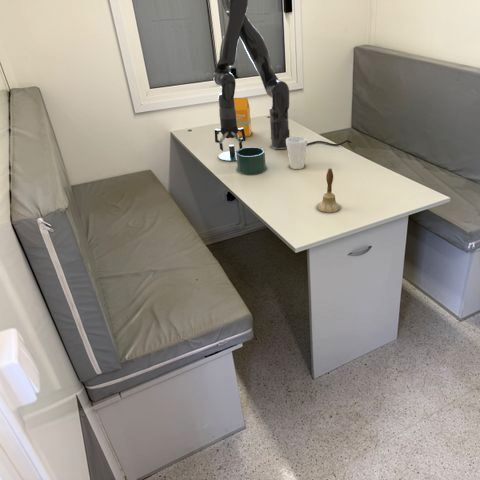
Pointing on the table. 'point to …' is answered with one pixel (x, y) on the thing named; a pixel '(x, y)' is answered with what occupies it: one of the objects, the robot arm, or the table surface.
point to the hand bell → (329, 196)
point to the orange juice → (243, 115)
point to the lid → (229, 155)
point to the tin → (251, 160)
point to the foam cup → (296, 151)
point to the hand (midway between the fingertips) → (231, 149)
